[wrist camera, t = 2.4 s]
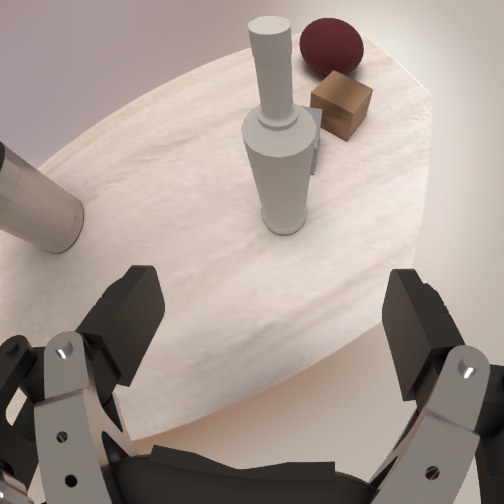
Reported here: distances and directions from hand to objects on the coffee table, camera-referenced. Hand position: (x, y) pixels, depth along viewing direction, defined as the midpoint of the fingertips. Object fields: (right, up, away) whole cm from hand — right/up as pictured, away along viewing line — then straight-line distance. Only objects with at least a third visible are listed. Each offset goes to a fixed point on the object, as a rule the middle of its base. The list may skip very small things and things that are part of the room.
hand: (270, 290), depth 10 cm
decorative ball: (+12, +31, +31) cm, 46 cm away
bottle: (+3, +5, +25) cm, 26 cm away
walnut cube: (+12, +20, +28) cm, 36 cm away
